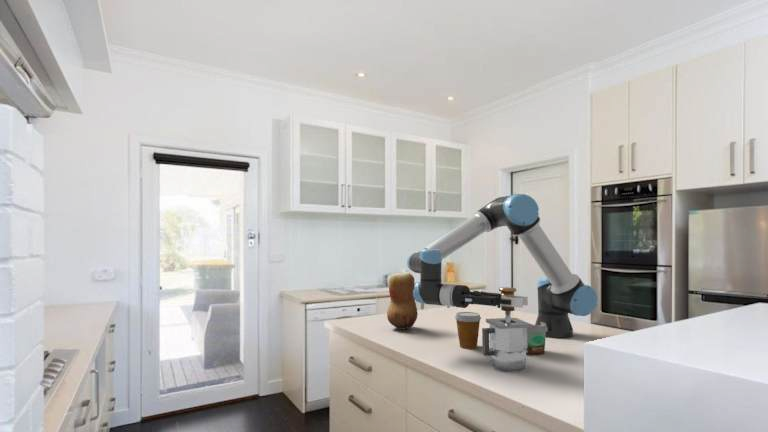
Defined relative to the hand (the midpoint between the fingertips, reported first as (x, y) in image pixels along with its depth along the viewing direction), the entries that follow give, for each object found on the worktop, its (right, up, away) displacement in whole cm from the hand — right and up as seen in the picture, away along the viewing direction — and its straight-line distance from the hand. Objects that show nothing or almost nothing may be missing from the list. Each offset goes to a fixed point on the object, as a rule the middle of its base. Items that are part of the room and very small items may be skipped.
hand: (524, 301), depth 129 cm
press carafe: (-6, -21, +2) cm, 22 cm away
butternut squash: (-35, -24, +56) cm, 70 cm away
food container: (+10, -22, +16) cm, 29 cm away
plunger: (-4, -14, +3) cm, 15 cm away
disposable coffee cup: (-12, -22, +26) cm, 36 cm away
